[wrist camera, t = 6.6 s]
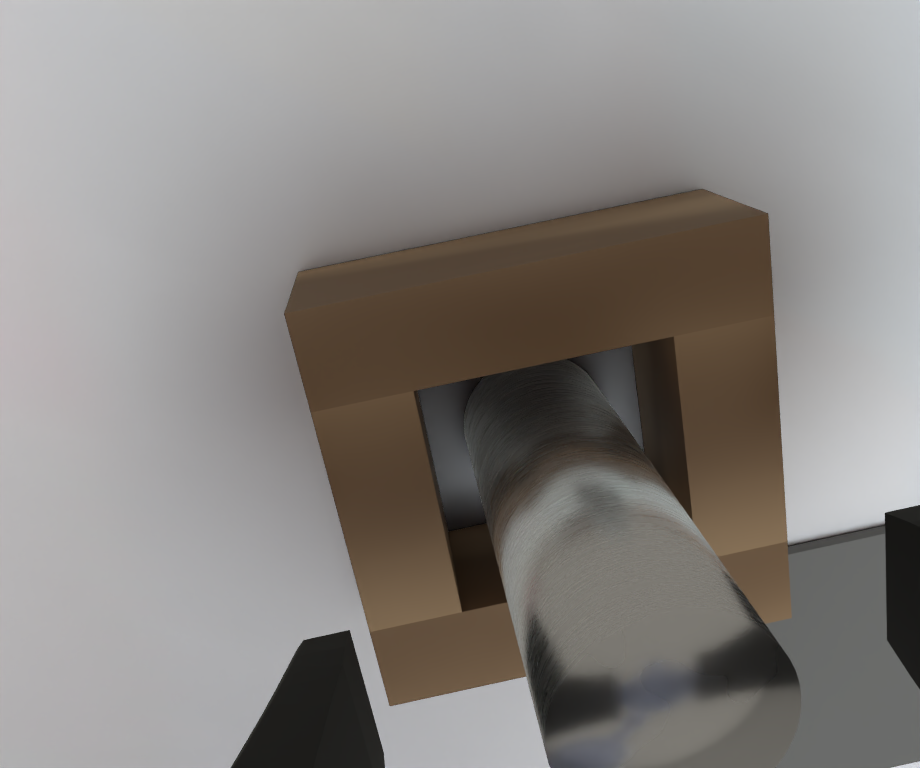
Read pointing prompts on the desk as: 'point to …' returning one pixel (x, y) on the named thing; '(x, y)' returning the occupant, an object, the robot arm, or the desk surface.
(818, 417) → the desk surface
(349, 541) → the hole block
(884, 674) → the mat
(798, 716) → the peg
